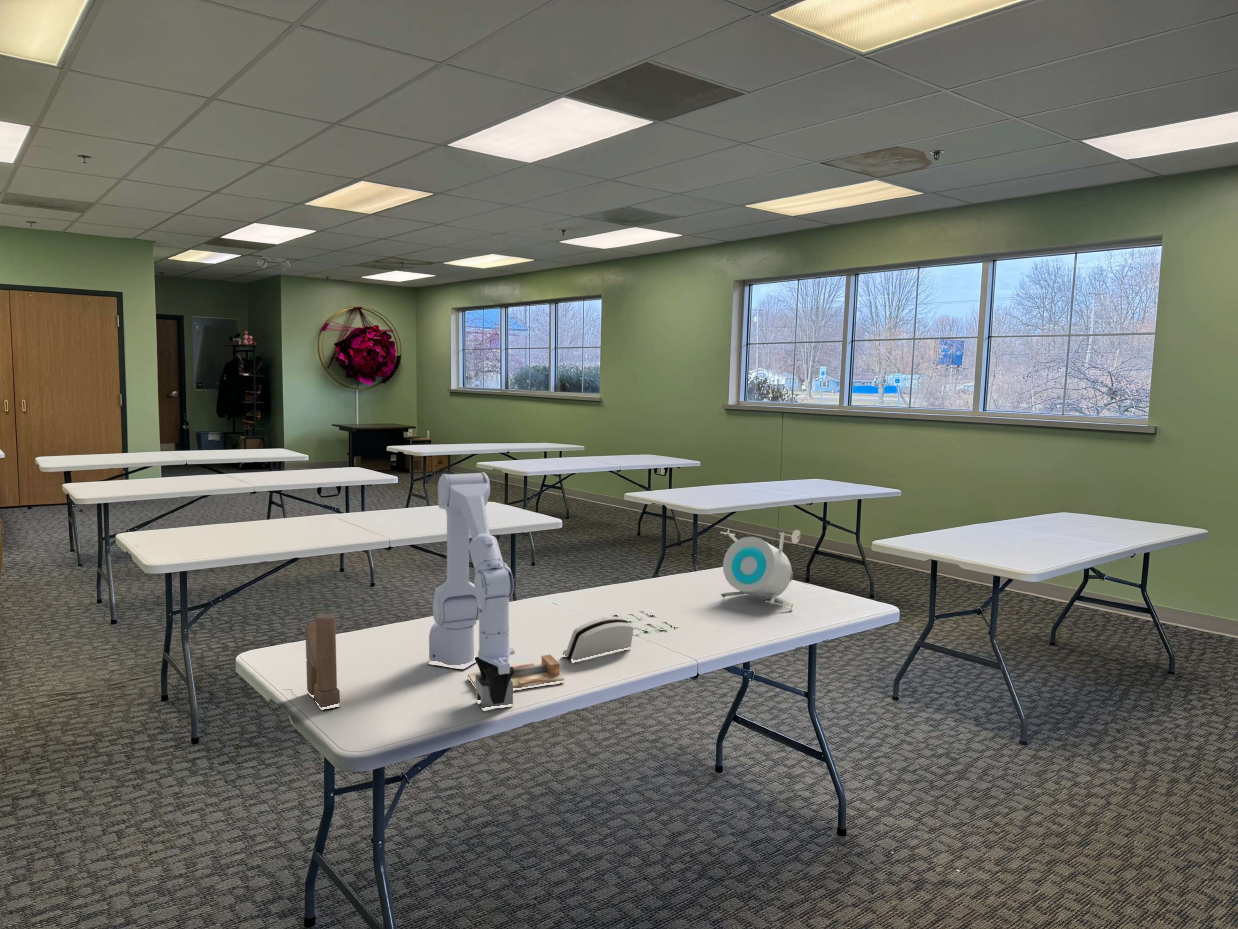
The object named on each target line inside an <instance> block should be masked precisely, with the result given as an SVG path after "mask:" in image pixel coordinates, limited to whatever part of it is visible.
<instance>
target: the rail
mask: <svg viewBox="0 0 1238 929" xmlns="http://www.w3.org/2000/svg"><path fill="white" fill-rule="evenodd" d="M560 666H561V664H560V662H558V660H557V659H556V658H555V657H553V655H551V654H546V655H541V663H536V664H535V663H528V664H521V665H513V666H511V667H513V668H514V674H513V676H512V677H511V681H512V682H513V688H522V687H528V686H534V685H539V684H544V683H550V682H556V681H563V680H564V681H565V677H564V676H562V675H561V670H560V668H561V667H560ZM468 677H469V678H470V680H471V681H472V683H473V684H474V686H475V687H476V678H477V677H481V673H480V671H479V672H474V673H473V672H472V673H467V678H468Z"/></svg>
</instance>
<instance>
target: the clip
mask: <svg viewBox="0 0 1238 929" xmlns="http://www.w3.org/2000/svg"><path fill="white" fill-rule="evenodd" d="M476 699H477V700H481V704H480V707H481V706H482V708H485V707H491V706H500V705H508V704H513V705H514V691H513V682H512V681H511V679H510V681H509V684H508V687H507V691H506V696H505V700H504V703H499V704H493V702H492V699H491V693H490V686H489V682H488V679H487V676H484V677H477V678H476V690H475V700H476Z"/></svg>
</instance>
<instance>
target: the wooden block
mask: <svg viewBox="0 0 1238 929" xmlns="http://www.w3.org/2000/svg"><path fill="white" fill-rule="evenodd" d="M314 620H315V621H314V623H311V624H305V627H304V628H305V655H306V656H305V658H306V662H305V663H306V691H307V690H308V692H309V693H310V694H311V695H314V699H315V701H316V702H317V703H318V704H319V706H320V707H321V708H322V707H327V706H330V705H334V704H338V703H340V702H341V699H340V698H341V696H340V695H341V694H340V692H341V691H340V689H339V688H338V680H337V679H338V678H337V677H338V676H337V670H338V669H337V645H336V644H337V643H336V642H337V640H336V639H337V636H336V616H335V615H334V614H332V613H322V614H321V613H320V614H318V615H317V616H315V618H314ZM314 699H313V700H314ZM340 704H341V703H340Z"/></svg>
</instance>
